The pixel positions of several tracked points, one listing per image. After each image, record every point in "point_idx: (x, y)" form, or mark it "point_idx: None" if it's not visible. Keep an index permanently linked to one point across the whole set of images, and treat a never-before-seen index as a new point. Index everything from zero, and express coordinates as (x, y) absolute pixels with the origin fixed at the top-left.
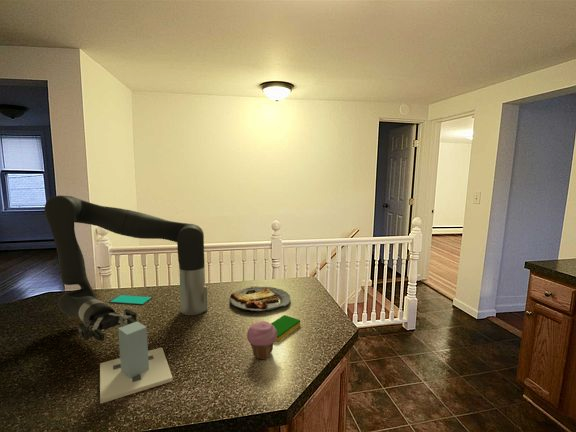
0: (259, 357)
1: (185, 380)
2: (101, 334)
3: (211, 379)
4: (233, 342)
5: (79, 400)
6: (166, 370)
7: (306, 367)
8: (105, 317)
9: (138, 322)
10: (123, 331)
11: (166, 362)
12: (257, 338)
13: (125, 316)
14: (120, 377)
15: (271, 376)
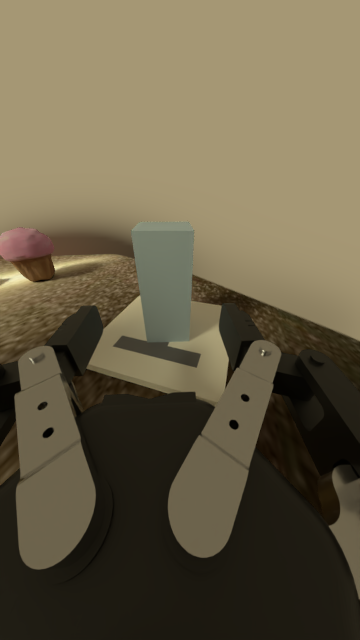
0: (53, 273)
1: (132, 292)
2: (231, 303)
3: (114, 282)
4: (5, 307)
5: (264, 333)
6: (135, 304)
7: (56, 259)
8: (130, 552)
9: (134, 228)
10: (189, 225)
11: (119, 315)
12: (49, 239)
13: (37, 377)
14: (197, 327)
15: (82, 265)
